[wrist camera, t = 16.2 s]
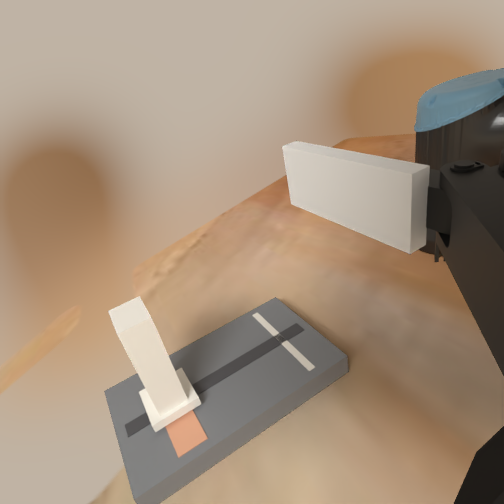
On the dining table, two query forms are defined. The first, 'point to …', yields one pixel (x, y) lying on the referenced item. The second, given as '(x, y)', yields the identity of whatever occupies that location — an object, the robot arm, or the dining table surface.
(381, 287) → the dining table surface
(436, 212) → the robot arm
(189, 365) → the slider console
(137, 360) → the fader tab
